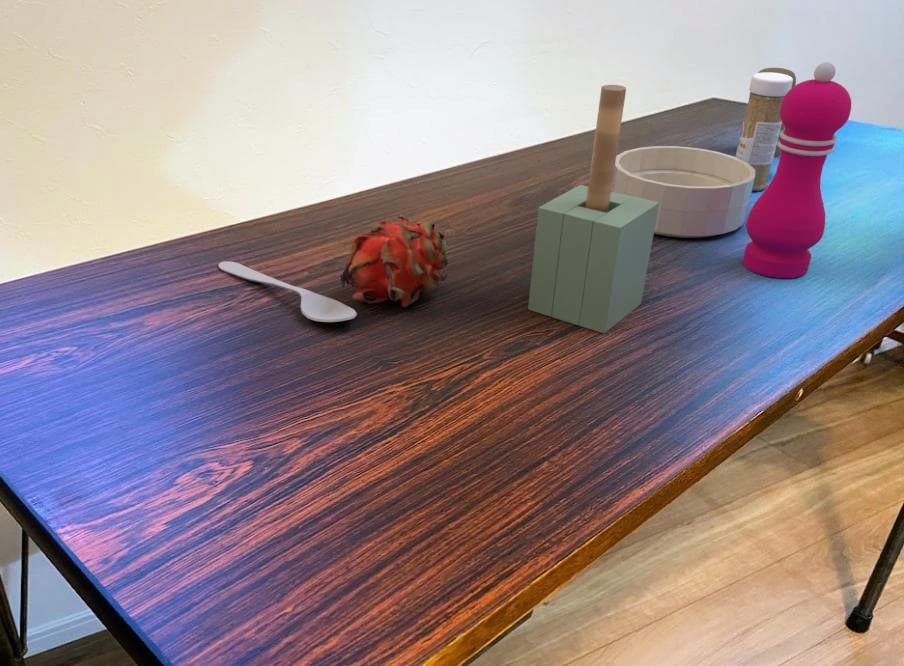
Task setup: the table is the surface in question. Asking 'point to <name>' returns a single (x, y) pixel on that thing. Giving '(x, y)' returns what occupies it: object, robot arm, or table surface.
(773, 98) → the sprinkles bottle
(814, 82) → the pepper mill
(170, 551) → the table surface
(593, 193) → the cooking stick
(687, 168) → the bowl
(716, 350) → the table surface
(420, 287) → the dragon fruit
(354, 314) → the spoon
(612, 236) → the utensil block
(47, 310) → the table surface
